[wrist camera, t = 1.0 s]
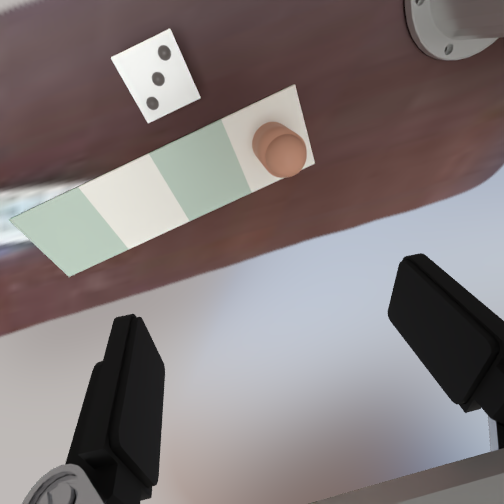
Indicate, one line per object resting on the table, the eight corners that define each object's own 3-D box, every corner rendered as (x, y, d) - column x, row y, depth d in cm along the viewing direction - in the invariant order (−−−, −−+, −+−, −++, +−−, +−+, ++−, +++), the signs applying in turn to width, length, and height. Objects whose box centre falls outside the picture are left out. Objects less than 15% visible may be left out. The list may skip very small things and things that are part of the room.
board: (293, 84, 27) (295, 84, 27) (313, 162, 32) (314, 163, 31) (10, 218, 28) (8, 220, 28) (69, 275, 33) (68, 276, 32)
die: (171, 33, 23) (170, 28, 19) (197, 92, 26) (201, 98, 22) (120, 58, 23) (109, 57, 19) (151, 114, 26) (147, 124, 22)
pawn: (284, 114, 28) (308, 128, 23) (295, 153, 30) (319, 173, 25) (246, 132, 28) (262, 149, 23) (260, 169, 30) (277, 193, 25)
